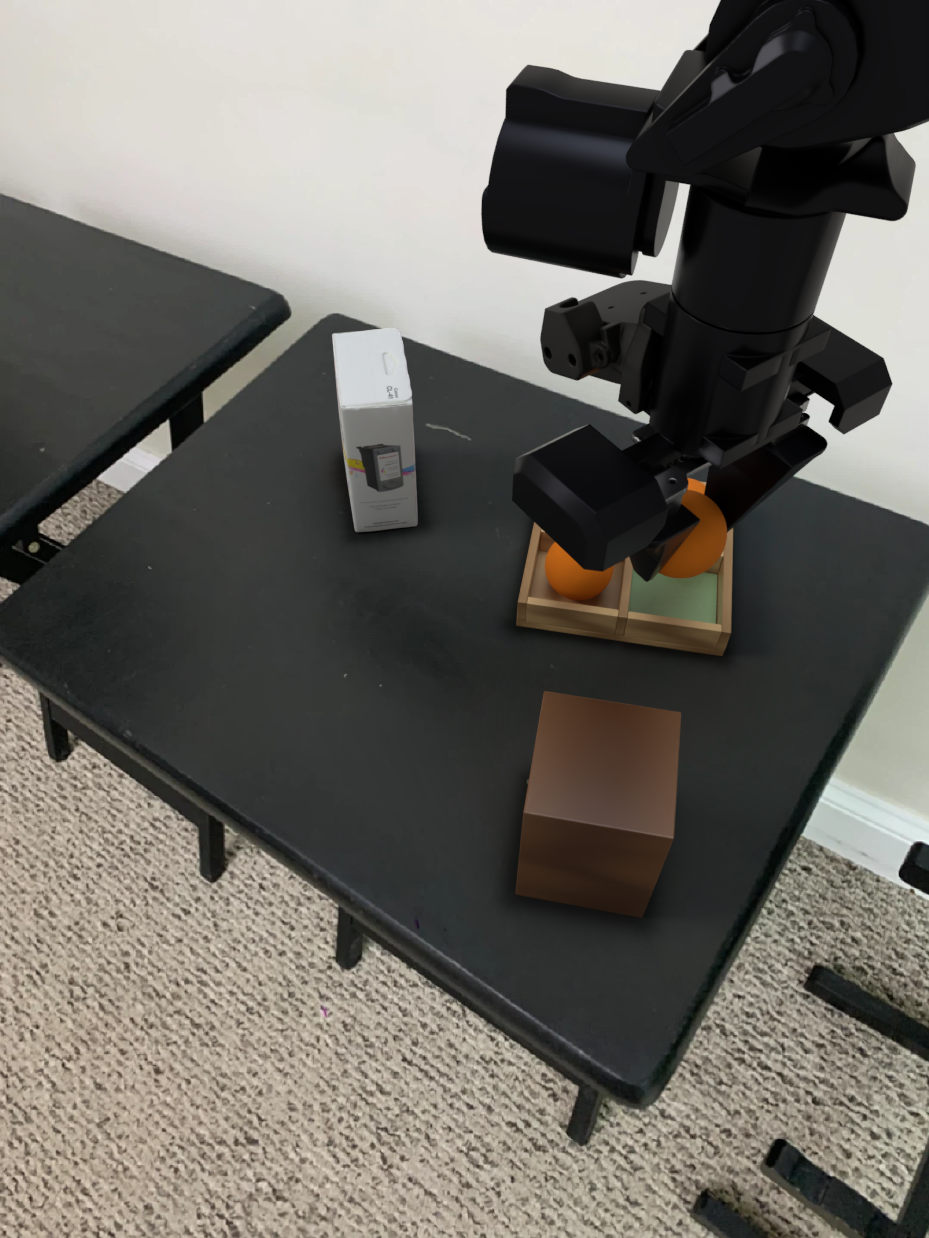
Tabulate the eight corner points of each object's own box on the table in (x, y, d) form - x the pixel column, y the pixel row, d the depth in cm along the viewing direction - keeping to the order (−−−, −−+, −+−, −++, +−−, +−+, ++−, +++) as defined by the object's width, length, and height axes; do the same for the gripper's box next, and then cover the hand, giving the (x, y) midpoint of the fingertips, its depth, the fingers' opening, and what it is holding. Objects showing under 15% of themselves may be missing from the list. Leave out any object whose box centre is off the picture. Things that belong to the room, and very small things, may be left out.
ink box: (344, 458, 73) (326, 329, 64) (407, 451, 74) (399, 322, 64) (354, 537, 68) (335, 409, 59) (422, 529, 68) (414, 400, 59)
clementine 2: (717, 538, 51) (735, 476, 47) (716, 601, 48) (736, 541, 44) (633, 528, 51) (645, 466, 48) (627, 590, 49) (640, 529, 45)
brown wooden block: (651, 803, 54) (681, 711, 47) (642, 918, 50) (674, 838, 42) (533, 783, 55) (543, 690, 47) (515, 894, 51) (523, 812, 43)
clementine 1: (612, 568, 65) (620, 522, 61) (605, 618, 62) (614, 573, 59) (547, 559, 66) (552, 513, 62) (538, 608, 63) (542, 563, 59)
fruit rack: (726, 510, 69) (734, 485, 67) (722, 656, 61) (731, 633, 59) (544, 487, 71) (546, 461, 69) (516, 626, 63) (517, 601, 61)
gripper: (759, 151, 44) (698, 411, 57) (437, 277, 38) (446, 539, 50) (956, 253, 39) (840, 516, 51) (616, 422, 32) (576, 678, 44)
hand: (676, 555), depth 49 cm, fingers closed on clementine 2, 4 cm apart
